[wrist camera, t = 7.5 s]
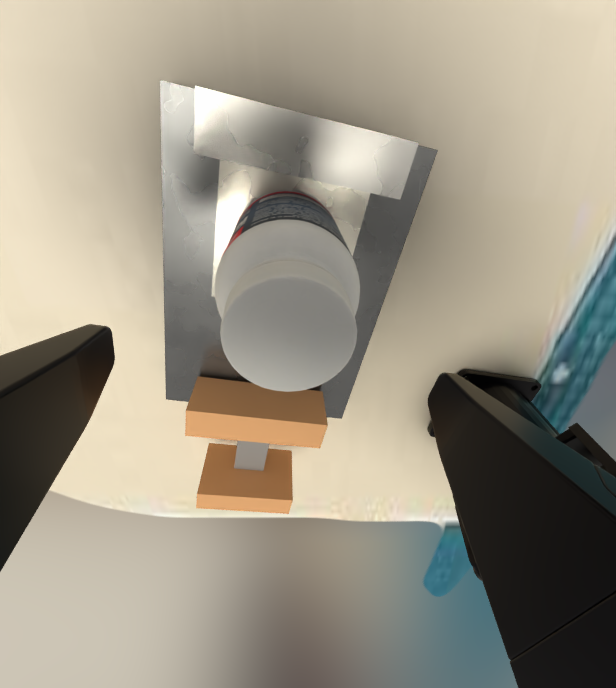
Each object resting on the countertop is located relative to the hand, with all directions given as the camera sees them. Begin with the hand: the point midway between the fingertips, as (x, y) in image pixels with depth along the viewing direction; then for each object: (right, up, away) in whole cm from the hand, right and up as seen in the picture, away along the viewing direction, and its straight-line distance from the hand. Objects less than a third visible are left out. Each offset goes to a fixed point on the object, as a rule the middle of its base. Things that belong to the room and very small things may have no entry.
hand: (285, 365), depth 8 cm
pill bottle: (0, +6, +9) cm, 11 cm away
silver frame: (-1, +4, +12) cm, 12 cm away
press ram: (-3, -5, +15) cm, 16 cm away
